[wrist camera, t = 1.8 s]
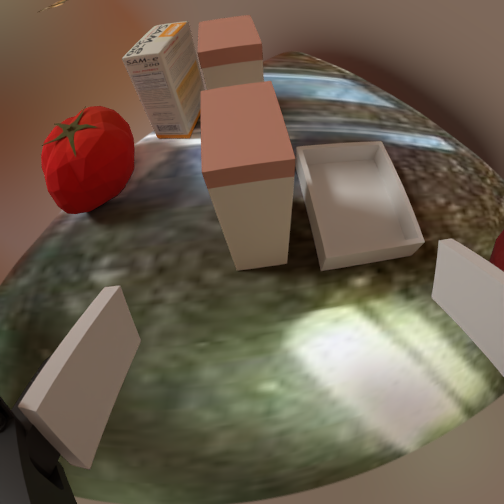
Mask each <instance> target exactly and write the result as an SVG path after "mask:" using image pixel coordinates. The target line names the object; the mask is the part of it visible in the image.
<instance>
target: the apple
mask: <svg viewBox="0 0 504 504" xmlns="http://www.w3.org/2000/svg"><path fill="white" fill-rule="evenodd" d="M489 262H490V263H492V264H493V265H495V266H496V267H497V268H499V269H500V270H502V271H503V272H504V230H503V231H502V232H501V234H500V235H499V236H498V238H497V239H496V242H495V245H494V248H493V251H492V254H491V257H490V261H489Z"/></svg>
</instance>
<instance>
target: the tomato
mask: <svg viewBox="0 0 504 504" xmlns="http://www.w3.org/2000/svg"><path fill="white" fill-rule="evenodd" d="M55 125H57V126H56V127H55V128H54V129H53V130H52V131H51V133H50V134H49V136H48V137H47V138H46V140H45V141H44V144H43V150H42V155H41V156H42V157H41V158H42V170H43V172H44V175H45V180H46V185H47V189H48V192H49V193H50V195H51V196H52V198H53V199H54V201H55V202H56V204H57V205H58V207H60V208H61V209H62V210H64V211H65V212H66V213H70V214H78V213H84V212H89V211H92V210H94V209H95V208H97V207H99V206H101V205H102V204H104V203H105V202H107V201H109V200H110V199H112V198H114V197H115V196H117V195H118V194H119V193H120V192H121V191H122V190H123V189H124V187H125V186H126V184H127V182H128V180H129V178H130V177H131V175H132V173H133V170H134V138H133V135H132V133H131V130H130V126H129V124H128V123H127V122H126V121H125V120H124V119H123V118H122V117H121V116H120V115H119V114H118V113H117V112H116V111H114V110H112V109H109V108H105V107H102V106H94V107H88V108H86V109H83V110H81V111H80V112H79V113H78V114H77V115H76V116H75V117H71V118H68V119H66V120H65V121H63V122H62V123H60V124H55Z"/></svg>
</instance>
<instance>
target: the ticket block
mask: <svg viewBox="0 0 504 504" xmlns="http://www.w3.org/2000/svg"><path fill="white" fill-rule="evenodd" d="M198 57H199V61H200V65H201V69H202V70H203V75H204V79H205V84H206V88H207V90H209V89H215V88H221V87H227V86H234V85H241V84H248V83H257V82H264V79H263V64H262V60H263V53H262V43H261V40H260V38H259V35H258V33H257V30H256V28H255V26H254V23H253V21H252V19H251V16H250V15H245V16H237V17H229V18H222V19H216V20H209V21H204V22H199V36H198Z"/></svg>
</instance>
